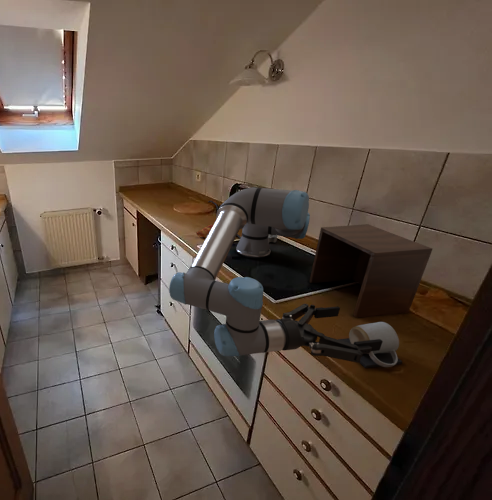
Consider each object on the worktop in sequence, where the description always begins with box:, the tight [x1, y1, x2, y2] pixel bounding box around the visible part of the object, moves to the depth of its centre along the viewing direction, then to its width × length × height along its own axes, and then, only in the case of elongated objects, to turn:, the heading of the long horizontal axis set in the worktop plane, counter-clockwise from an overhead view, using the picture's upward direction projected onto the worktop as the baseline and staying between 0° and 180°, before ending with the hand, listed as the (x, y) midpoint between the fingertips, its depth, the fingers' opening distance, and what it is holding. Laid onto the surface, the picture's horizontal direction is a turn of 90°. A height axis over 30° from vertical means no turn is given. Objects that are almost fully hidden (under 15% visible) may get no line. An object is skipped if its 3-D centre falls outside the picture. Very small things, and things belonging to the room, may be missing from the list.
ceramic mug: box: [348, 321, 400, 368], centre depth 76 cm, size 11×8×8 cm
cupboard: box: [309, 223, 433, 318], centre depth 101 cm, size 23×18×22 cm
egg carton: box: [268, 234, 279, 243], centre depth 156 cm, size 11×8×4 cm
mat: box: [337, 337, 403, 369], centre depth 79 cm, size 10×10×1 cm
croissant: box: [195, 223, 214, 239], centre depth 163 cm, size 21×10×8 cm, turn 101°
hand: (357, 326), depth 76 cm, fingers open, 13 cm apart
